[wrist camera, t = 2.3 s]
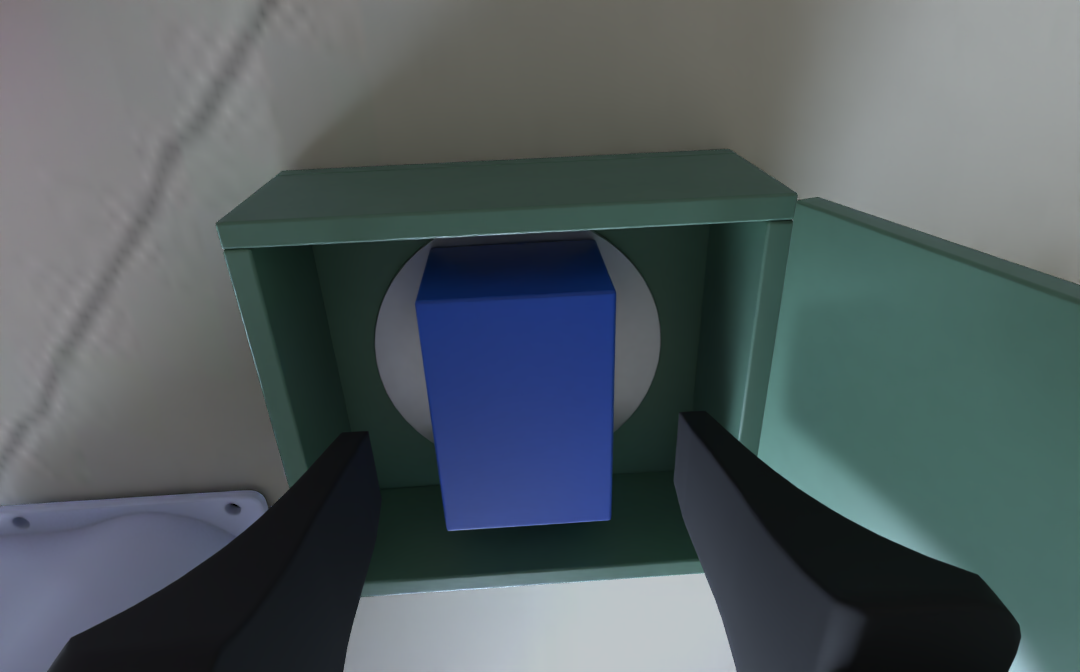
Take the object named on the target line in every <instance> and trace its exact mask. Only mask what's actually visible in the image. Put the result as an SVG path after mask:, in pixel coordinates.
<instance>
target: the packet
mask: <svg viewBox="0 0 1080 672" xmlns="http://www.w3.org/2000/svg"><path fill="white" fill-rule="evenodd" d="M415 309H416V316H417V323H418V331H419V338H420V345H421V352H422V359H423V366H424V373H425V381H426V388H427V395H428V402H429V409H430V416H431V424H432V431H433V438H434V445H435V452H436V459H437V467H438V474H439V481H440V488H441V495H442V502H443V510H444V517H445V524H446V529H447V530H448V531H457V530H472V529H486V528H501V527H516V526H531V525H546V524H561V523H576V522H591V521H606V520H610V519H611V517H612V475H613V428H614V381H615V334H616V290H615V288H614V285H613V283H612V280H611V278H610V275H609V273H608V270H607V268H606V265H605V263H604V260H603V258H602V255H601V253H600V250H599V248H598V245H597V243H596V241H595V240H578V241H559V242H540V243H521V244H502V245H483V246H464V247H445V248H432V249H430V251H429V255H428V259H427V262H426V266H425V269H424V273H423V276H422V280H421V283H420V287H419V291H418V294H417V298H416V301H415Z"/></svg>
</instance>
